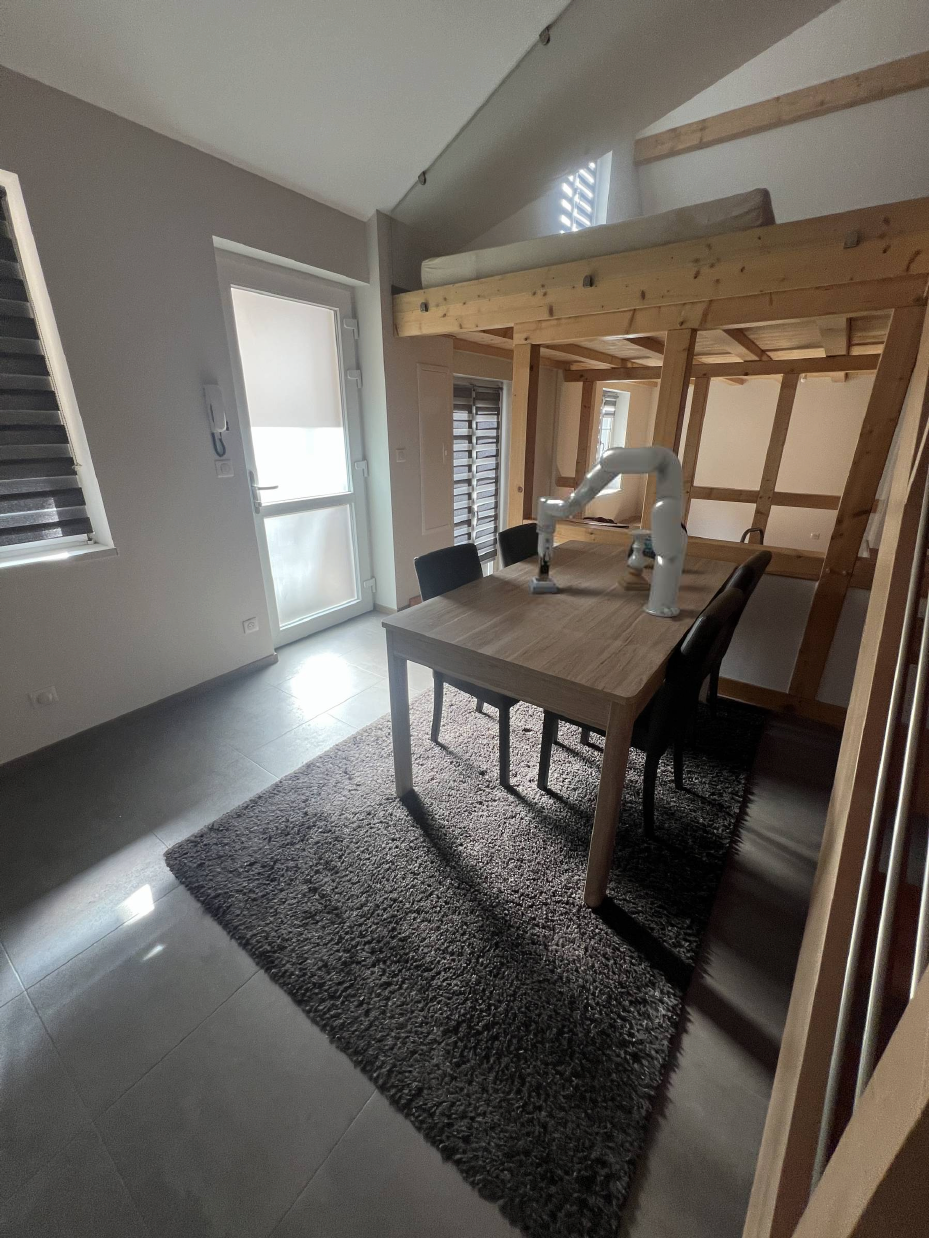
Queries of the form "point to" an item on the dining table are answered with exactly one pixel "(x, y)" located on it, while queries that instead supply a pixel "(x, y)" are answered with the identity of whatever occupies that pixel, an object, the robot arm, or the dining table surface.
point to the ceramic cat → (647, 550)
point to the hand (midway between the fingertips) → (543, 571)
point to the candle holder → (636, 563)
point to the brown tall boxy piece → (540, 576)
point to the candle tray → (542, 586)
